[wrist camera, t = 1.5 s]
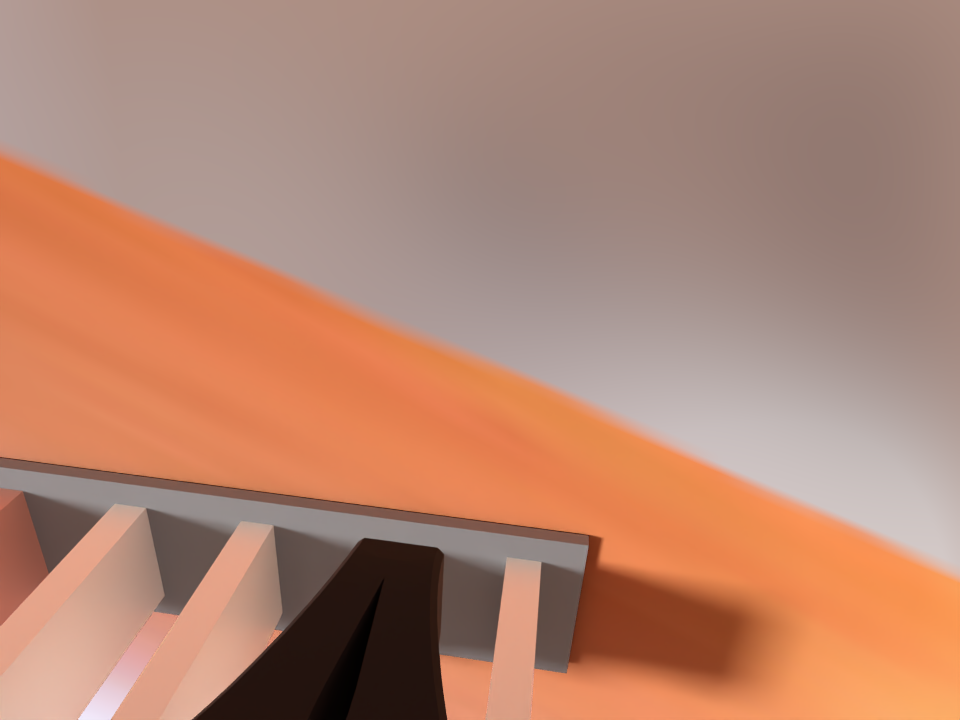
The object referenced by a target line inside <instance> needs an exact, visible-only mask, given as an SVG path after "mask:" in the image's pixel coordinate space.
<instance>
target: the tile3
mask: <svg viewBox="0 0 960 720" xmlns="http://www.w3.org/2000/svg"><path fill="white" fill-rule="evenodd" d="M282 613H283V612H282V602H281V593H280V583H279V574H278V564H277V555H276V545H275V536H274V526H273V525H268V524H260V523H253V522H246V521H241V522H240V523H239V525H238V526H237V528H236V530H235V531H234V533H233V534H232V536H231V537H230V539H229V540H228V542H227V543H226V545H225V546H224V548H223V549H222V551H221V552H220V554H219V555H218V557H217V558H216V560H215V562H214V563H213V565H212V566H211V568H210V569H209V571H208V572H207V574H206V575H205V577H204V578H203V580H202V581H201V583H200V584H199V586H198V587H197V589H196V591H195V592H194V594H193V595H192V597H191V598H190V600H189V601H188V603H187V604H186V606H185V607H184V609H183V610H182V612H181V613H180V615H179V616H178V618H177V619H176V621H175V623H174V624H173V626H172V627H171V629H170V630H169V632H168V633H167V635H166V636H165V638H164V639H163V641H162V642H161V644H160V645H159V647H158V648H157V650H156V651H155V653H154V655H153V656H152V658H151V659H150V661H149V662H148V664H147V665H146V667H145V668H144V670H143V671H142V673H141V674H140V676H139V677H138V679H137V680H136V682H135V684H134V685H133V687H132V688H131V690H130V691H129V693H128V694H127V696H126V697H125V699H124V700H123V702H122V703H121V705H120V706H119V708H118V709H117V711H116V712H115V714H114V716H113V717H112V719H111V720H192V719H193V718H194V717H195V716H196V715H197V714H199V713H200V712H201V711H202V710H203V709H204V708H205V707H206V706H208V705H209V704H210V703H211V702H212V701H213V700H214V699H215V698H216V697H217V696H218V695H220V694H221V693H222V692H223V691H224V690H225V689H226V688H227V687H228V686H229V685H230V684H231V683H232V682H233V681H234V680H235V679H236V678H237V677H238V676H239V675H240V674H241V673H242V672H243V671H244V670H245V669H246V668H247V667H248V666H249V665H250V664H251V663H252V662H253V661H254V660H255V659H256V658H257V657H258V656H259V655H260V654H261V653H262V652H263V651H264V650H265V648H266V646H267V644H268V642H269V640H270V638H271V636H272V634H273V632H274V630H275V628H276V626H277V623H278V621H279V619H280V617H281V615H282Z"/></svg>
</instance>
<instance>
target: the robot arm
mask: <svg viewBox="0 0 960 720" xmlns="http://www.w3.org/2000/svg"><path fill="white" fill-rule="evenodd" d="M443 571H444V553H443V552H442V551H441V550H440V549H439V548H437V547H430V546H423V545H415V544H408V543H401V542H393V541H386V540H379V539H371V538H363V539H362V540H360V541H359V542H357V544H356V545H355V546H354V548H353V549H352V550H351V552H350V553H349V554H348V556H347V557H346V558H345V560H344V561H343V562H342V563H341V565H340V566H339V567H338V568H337V570H336V571H335V572H334V573H333V575H332V576H331V577H330V578H329V579H328V581H327V582H326V583H325V584H324V585H323V587H322V588H321V589H320V590H319V591H318V593H317V594H316V595H315V596H314V597H313V598H312V600H311V601H310V602H309V603H308V604H307V605H306V606H305V607H304V608H303V610H302V611H301V612H300V613H299V614H298V615H297V616H296V617H295V618H294V620H293V621H292V622H291V623H290V624H289V625H288V626H287V627H286V628H285V630H284V631H283V632H282V633H281V634H280V635H279V636H278V637H277V638H276V639H275V640H274V641H273V642H272V643H271V644H270V645H269V646H268V647H267V648H266V649H265V650H264V651H263V652H262V653H261V654H260V655H259V656H258V657H257V658H256V659H255V660H254V661H253V662H252V663H251V664H250V665H249V666H248V667H247V668H246V669H245V670H244V671H243V672H242V673H241V674H240V675H239V676H238V677H237V678H236V679H235V680H234V681H233V682H232V683H231V684H230V685H229V686H228V687H227V688H226V689H225V690H224V691H223V692H222V693H221V694H220V695H218V696H217V697H216V698H215V699H214V700H213V701H212V702H211V703H210V704H209V705H208V706H206V707H205V708H204V709H203V710H202V711H201V712H200V713H199V714H197V715H196V716H195V717H194V718H193V719H192V720H447V715H446V708H445V701H444V694H443V686H442V678H441V668H440V655H439V640H440V634H441V614H442V593H443Z"/></svg>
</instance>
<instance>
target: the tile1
mask: <svg viewBox="0 0 960 720" xmlns="http://www.w3.org/2000/svg"><path fill="white" fill-rule="evenodd" d="M540 575H541V562H539V561H531V560H524V559H517V558H509V557H507V560H506V568H505V575H504V583H503V590H502V598H501V606H500V613H499V621H498V629H497V636H496V644H495V651H494V659H493V667H492V674H491V682H490V690H489V697H488V705H487V713H486V720H531V707H532V692H533V678H534V663H535V648H536V634H537V619H538V604H539V589H540Z"/></svg>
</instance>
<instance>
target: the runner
mask: <svg viewBox="0 0 960 720" xmlns="http://www.w3.org/2000/svg"><path fill="white" fill-rule="evenodd" d="M0 488H4V489H11V490H19V491H23V493H24V497H25V500H26V503H27V506H28V509H29V512H30V516H31V519H32V522H33V525H34V528H35V531H36V535H37V538H38V541H39V544H40V547H41V550H42V554H43V557H44V560H45V563H46V566H47V569H48V573H49V574H50V573H51V572H52V571H53V569H54V568H55V567H56V566H57V565H58V564H59V563H60V562H61V561H62V560H63V559H64V558H65V557H66V556H67V554H68V553H69V552H70V551H71V550H72V549H73V548H74V547H75V546H76V545H77V544H78V543H79V542H80V540H81V539H82V538H83V537H84V536H85V535H86V534H87V533H88V532H89V531H90V530H91V529H92V528H93V527H94V525H95V524H96V523H97V522H98V521H99V520H100V519H101V518H102V517H103V516H104V515H105V514H106V513H107V512H108V510H109V509H110V508H111V507H112V506H113V505H114V504H121V505H128V506H136V507H143V508H146V510H147V515H148V519H149V524H150V529H151V534H152V538H153V543H154V548H155V552H156V557H157V562H158V566H159V571H160V576H161V580H162V585H163V590H164V594H165V596H164V597H163V599H162V600H161V602H160V603H159V604H158V606H157V607H156V609H155V610H154V612H161V613H167V614H174V615H180V613H181V612H182V610H183V609H184V607H185V606H186V604H187V603H188V601H189V600H190V598H191V597H192V595H193V594H194V592H195V591H196V589H197V587H198V586H199V584H200V583H201V581H202V580H203V578H204V577H205V575H206V574H207V572H208V571H209V569H210V568H211V566H212V565H213V563H214V562H215V560H216V558H217V557H218V555H219V554H220V552H221V551H222V549H223V548H224V546H225V545H226V543H227V542H228V540H229V539H230V537H231V536H232V534H233V533H234V531H235V530H236V528H237V526H238V525H239V523H240V522H241V521H246V522H253V523H260V524H268V525H273V526H274V536H275V545H276V555H277V564H278V574H279V583H280V593H281V602H282V612H283V613H282V615H281V617H280V619H279V621H278V623H277V626H276V628H275V630H281V631H284V630H285V628H286V627H287V626H288V625H289V624H290V623H291V622H292V621H293V620H294V618H295V617H296V616H297V615H298V614H299V613H300V612H301V611H302V610H303V608H304V607H305V606H306V605H307V604H308V603H309V602H310V601H311V600H312V598H313V597H314V596H315V595H316V594H317V593H318V591H319V590H320V589H321V588H322V587H323V585H324V584H325V583H326V582H327V581H328V579H329V578H330V577H331V576H332V575H333V573H334V572H335V571H336V570H337V568H338V567H339V566H340V565H341V563H342V562H343V561H344V560H345V558H346V557H347V556H348V554H349V553H350V552H351V550H352V549H353V548H354V546H355V545H356V544H357V542H359V541H360V540H362V539H363V538H371V539H379V540H386V541H393V542H401V543H408V544H415V545H423V546H430V547H437V548H439V549H440V550H441V551H442V552H443V553H444V571H443V593H442V614H441V634H440V640H439V654H441V655H448V656H454V657H461V658H468V659H474V660H481V661H488V662H493V659H494V651H495V644H496V636H497V629H498V621H499V613H500V606H501V598H502V590H503V583H504V575H505V568H506V560H507V557H509V558H517V559H524V560H531V561H539V562H541V575H540V589H539V604H538V619H537V634H536V648H535V663H534V668H535V669H541V670H548V671H555V672H561V673H567V668H568V662H569V656H570V650H571V645H572V639H573V633H574V628H575V622H576V616H577V610H578V605H579V599H580V593H581V587H582V582H583V576H584V570H585V564H586V559H587V553H588V547H589V536H588V535H581V534H573V533H565V532H558V531H550V530H543V529H535V528H528V527H520V526H512V525H505V524H497V523H490V522H482V521H475V520H467V519H460V518H452V517H444V516H437V515H429V514H422V513H414V512H407V511H399V510H391V509H384V508H376V507H369V506H361V505H354V504H346V503H338V502H331V501H323V500H316V499H308V498H301V497H293V496H285V495H278V494H270V493H263V492H255V491H248V490H240V489H233V488H225V487H217V486H210V485H202V484H195V483H187V482H180V481H172V480H164V479H157V478H149V477H142V476H134V475H127V474H119V473H111V472H104V471H96V470H89V469H81V468H74V467H66V466H58V465H51V464H43V463H36V462H28V461H21V460H13V459H5V458H0Z"/></svg>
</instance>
